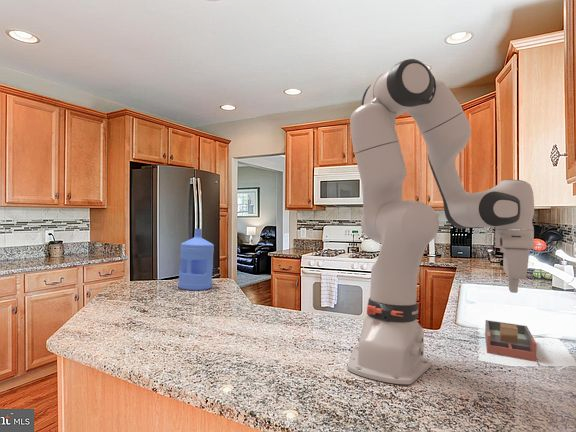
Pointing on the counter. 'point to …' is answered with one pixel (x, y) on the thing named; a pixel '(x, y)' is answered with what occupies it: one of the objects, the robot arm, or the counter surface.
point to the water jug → (196, 263)
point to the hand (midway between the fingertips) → (513, 291)
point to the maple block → (508, 333)
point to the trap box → (521, 349)
